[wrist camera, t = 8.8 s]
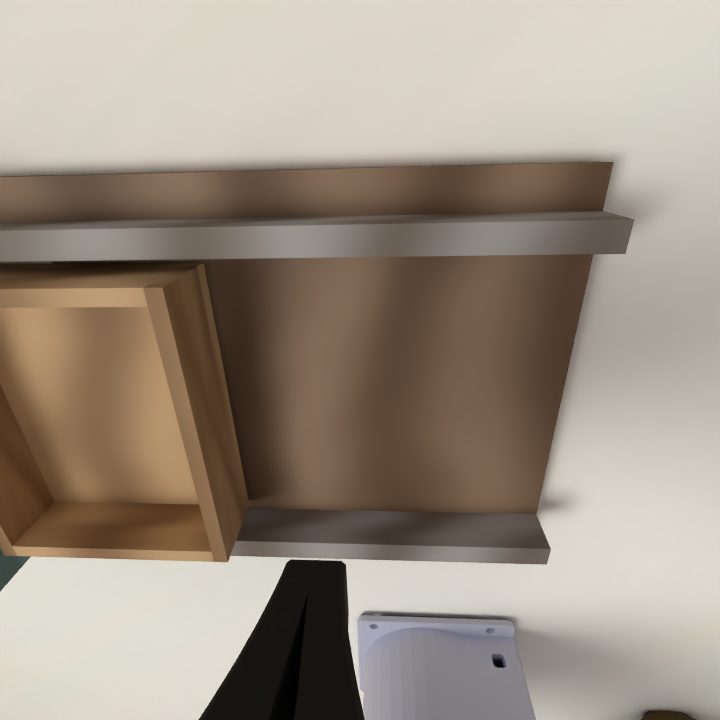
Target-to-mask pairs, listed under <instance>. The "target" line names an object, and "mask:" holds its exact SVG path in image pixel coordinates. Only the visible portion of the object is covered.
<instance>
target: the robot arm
mask: <svg viewBox="0 0 720 720" xmlns="http://www.w3.org/2000/svg"><path fill="white" fill-rule="evenodd" d="M357 626H358V649H359V672H360V689H361V690H362V691H363V692H364V701H363V710H362V705H361V700H360V696H359V691H358V686H357V681H356V676H355V671H354V665H353V659H352V653H351V647H350V641H349V634H348V595H347V577H346V564H344V563H343V562H342V561H322V560H290V561H288V562H287V563H286V566H285V568H284V570H283V573H282V575H281V577H280V579H279V581H278V584H277V586H276V588H275V590H274V592H273V594H272V596H271V598H270V600H269V602H268V604H267V606H266V608H265V610H264V612H263V614H262V615H261V617H260V619H259V621H258V623H257V625H256V626H255V628H254V630H253V632H252V634H251V635H250V637H249V639H248V641H247V642H246V644H245V646H244V648H243V649H242V651H241V653H240V655H239V656H238V658H237V660H236V662H235V663H234V665H233V666H232V668H231V670H230V671H229V673H228V674H227V676H226V678H225V679H224V681H223V682H222V684H221V686H220V687H219V689H218V690H217V692H216V694H215V695H214V697H213V699H212V700H211V702H210V703H209V705H208V706H207V708H206V709H205V711H204V712H203V714H202V715H201V717H200V718H199V720H536V718H535V714H534V710H533V707H532V703H531V699H530V695H529V692H528V688H527V684H526V681H525V677H524V673H523V669H522V666H521V662H520V658H519V654H518V651H517V647H516V643H515V639H514V635H515V627H514V624H513V622H511V621H508V620H487V619H458V618H430V617H402V616H373V615H363V616H360V617H359V618H358V625H357Z"/></svg>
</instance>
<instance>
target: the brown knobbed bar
mask: <svg viewBox="0 0 720 720" xmlns="http://www.w3.org/2000/svg"><path fill="white" fill-rule="evenodd" d="M641 720H696V719H694V718H692V717H690V716H688V715H686V714H684V713H682V712H674V711H649V712H648V713H647V714H646V715H645V716H644V717H643V718H642V719H641Z"/></svg>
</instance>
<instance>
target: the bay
mask: <svg viewBox="0 0 720 720" xmlns="http://www.w3.org/2000/svg"><path fill="white" fill-rule="evenodd" d="M612 166H613V162H569V163H529V164H489V165H449V166H409V167H369V168H329V169H289V170H249V171H209V172H169V173H129V174H89V175H49V176H9V177H0V265H46V264H126V263H204V268H205V273H206V279H207V284H208V289H209V294H210V300H211V305H212V310H213V316H214V321H215V326H216V331H217V337H218V342H219V347H220V353H221V358H222V363H223V368H224V374H225V379H226V384H227V390H228V395H229V400H230V406H231V411H232V416H233V421H234V427H235V432H236V437H237V443H238V448H239V453H240V458H241V464H242V469H243V474H244V480H245V485H246V490H247V495H248V501H249V508H248V510H247V513H246V516H245V518H244V521H243V523H242V526H241V529H240V531H239V534H238V537H237V539H236V542H235V544H234V547H233V550H232V552H231V555H230V556H261V557H297V558H333V559H369V560H405V561H442V562H478V563H514V564H547V562H548V558H549V554H550V550H551V549H550V546H549V544H548V541H547V539H546V537H545V534H544V532H543V530H542V527H541V525H540V522H539V520H538V518H537V515H536V512H537V508H538V503H539V499H540V494H541V490H542V485H543V480H544V476H545V471H546V467H547V462H548V458H549V453H550V449H551V444H552V439H553V435H554V430H555V426H556V421H557V417H558V412H559V408H560V403H561V398H562V394H563V389H564V385H565V380H566V376H567V371H568V366H569V362H570V357H571V353H572V348H573V344H574V339H575V335H576V330H577V325H578V321H579V316H580V312H581V307H582V303H583V298H584V294H585V289H586V284H587V280H588V275H589V271H590V266H591V262H592V257H593V254H625V253H626V249H627V245H628V241H629V237H630V233H631V229H632V225H633V221H634V220H633V219H630V218H626V217H622V216H618V215H615V214H611V213H607V212H604V211H603V207H604V202H605V198H606V193H607V189H608V184H609V180H610V175H611V170H612ZM30 557H31V556H4V554H3V552H2V551H1V549H0V591H1V590H2V589H3V588H4V586H5V585H6V584H7V583H8V582H9V581H10V580H11V578H12V577H13V576H14V575H15V574H16V573H17V572H18V570H19V569H20V568H21V567H22V566H23V565H24V564H25V562H26V561H27V560H28V559H29V558H30Z"/></svg>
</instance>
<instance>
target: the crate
mask: <svg viewBox="0 0 720 720" xmlns="http://www.w3.org/2000/svg"><path fill="white" fill-rule="evenodd" d="M248 508H249V501H248V495H247V490H246V485H245V480H244V474H243V469H242V464H241V458H240V453H239V448H238V443H237V437H236V432H235V427H234V421H233V416H232V411H231V406H230V400H229V395H228V390H227V384H226V379H225V374H224V368H223V363H222V358H221V353H220V347H219V342H218V337H217V331H216V326H215V321H214V316H213V310H212V305H211V300H210V294H209V289H208V284H207V279H206V273H205V268H204V263H126V264H46V265H0V549H1V551H2V552H3V554H4V556H35V557H70V558H105V559H140V560H175V561H210V562H228V560H229V558H230V555H231V552H232V550H233V547H234V544H235V542H236V539H237V537H238V534H239V531H240V529H241V526H242V523H243V521H244V518H245V516H246V513H247V510H248Z"/></svg>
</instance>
